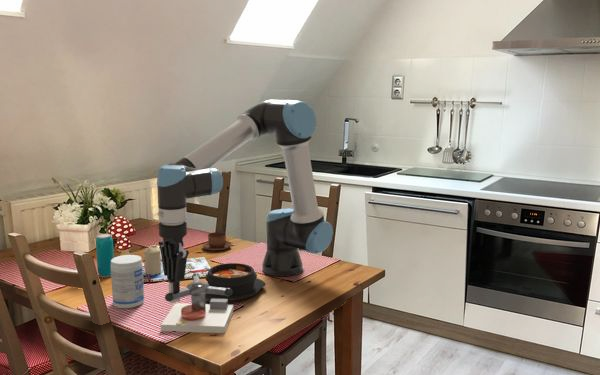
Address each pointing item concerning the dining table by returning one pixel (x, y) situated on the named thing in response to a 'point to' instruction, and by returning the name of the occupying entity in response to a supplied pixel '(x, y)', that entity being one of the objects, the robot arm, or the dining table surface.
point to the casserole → (233, 281)
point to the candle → (153, 260)
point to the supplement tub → (127, 281)
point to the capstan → (196, 297)
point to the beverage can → (104, 254)
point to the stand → (211, 323)
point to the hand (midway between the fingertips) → (174, 301)
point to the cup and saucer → (217, 242)
